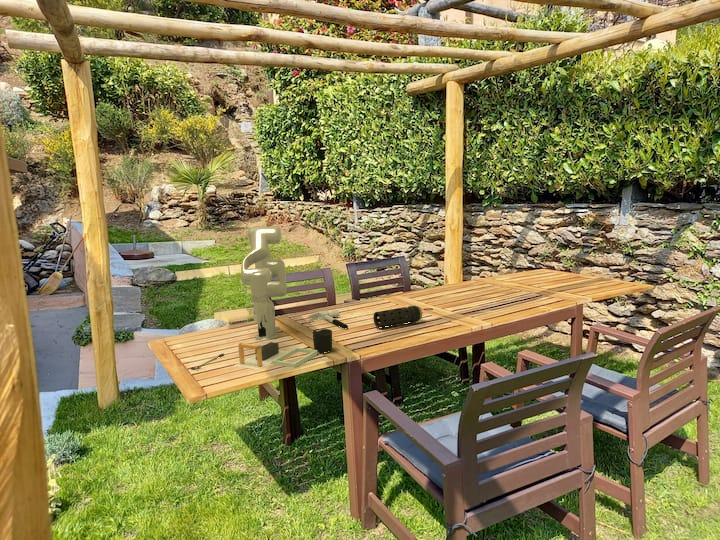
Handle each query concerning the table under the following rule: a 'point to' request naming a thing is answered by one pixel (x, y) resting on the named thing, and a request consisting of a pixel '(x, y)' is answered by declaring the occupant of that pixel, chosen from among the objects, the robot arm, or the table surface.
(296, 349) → the tray
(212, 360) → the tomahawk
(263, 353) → the dark grey block
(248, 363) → the board
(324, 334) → the pen holder
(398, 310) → the muzzle brake
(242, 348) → the orange pull handle
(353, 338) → the table surface
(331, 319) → the claw hammer
